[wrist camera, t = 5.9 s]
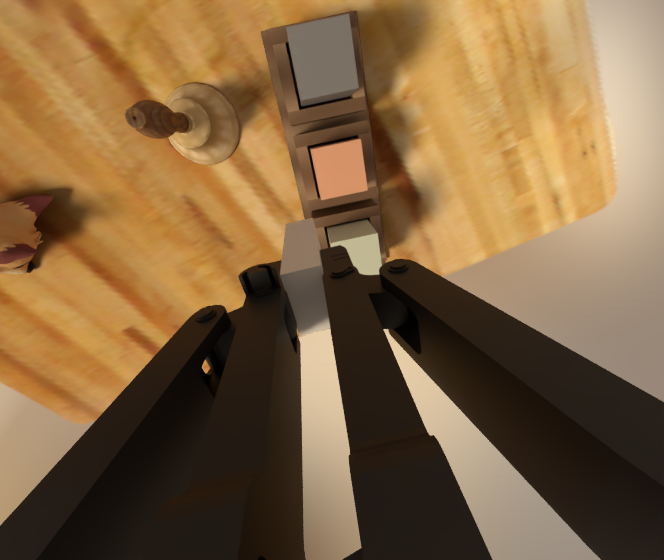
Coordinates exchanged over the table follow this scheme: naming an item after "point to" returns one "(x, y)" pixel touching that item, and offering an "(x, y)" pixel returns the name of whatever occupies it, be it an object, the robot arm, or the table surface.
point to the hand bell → (190, 122)
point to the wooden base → (325, 137)
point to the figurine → (20, 232)
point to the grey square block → (323, 59)
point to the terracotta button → (339, 168)
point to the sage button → (358, 244)
